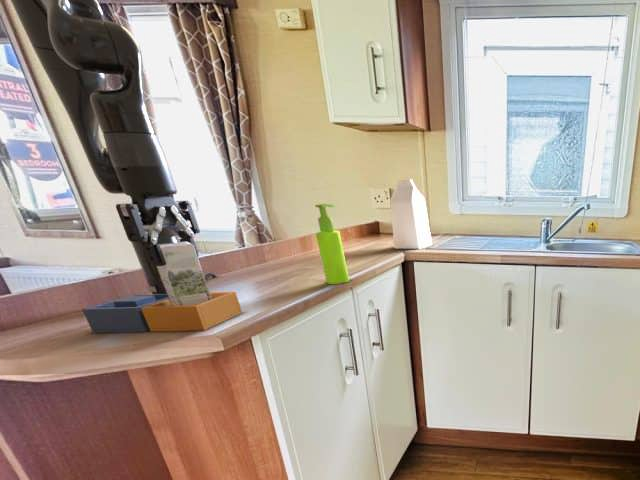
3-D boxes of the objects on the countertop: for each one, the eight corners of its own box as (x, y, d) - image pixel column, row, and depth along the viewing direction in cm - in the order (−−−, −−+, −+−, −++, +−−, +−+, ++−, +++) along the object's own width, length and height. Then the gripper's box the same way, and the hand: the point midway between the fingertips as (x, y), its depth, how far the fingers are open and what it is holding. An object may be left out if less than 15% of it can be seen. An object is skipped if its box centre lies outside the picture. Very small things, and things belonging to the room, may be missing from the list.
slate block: (141, 317, 87) (132, 296, 85) (162, 317, 87) (153, 295, 85) (122, 324, 83) (112, 301, 81) (144, 323, 83) (135, 301, 81)
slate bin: (143, 315, 91) (134, 294, 89) (190, 314, 90) (182, 293, 88) (93, 333, 80) (81, 309, 78) (146, 331, 80) (136, 307, 78)
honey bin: (194, 314, 90) (186, 293, 88) (242, 313, 90) (235, 291, 88) (150, 331, 80) (140, 307, 78) (204, 330, 79) (195, 306, 77)
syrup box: (208, 313, 88) (182, 240, 82) (218, 317, 85) (192, 242, 78) (176, 319, 84) (146, 244, 78) (185, 324, 81) (155, 246, 75)
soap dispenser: (355, 279, 120) (341, 202, 111) (340, 284, 114) (323, 204, 105) (338, 278, 121) (322, 203, 113) (322, 283, 115) (304, 204, 107)
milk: (394, 248, 179) (384, 180, 168) (408, 244, 189) (399, 180, 178) (419, 248, 175) (410, 179, 164) (432, 244, 185) (424, 179, 174)
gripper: (153, 167, 79) (185, 256, 86) (81, 164, 66) (125, 269, 73) (192, 165, 79) (221, 255, 86) (126, 162, 66) (166, 268, 73)
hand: (176, 261), depth 80 cm, fingers closed on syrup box, 7 cm apart
